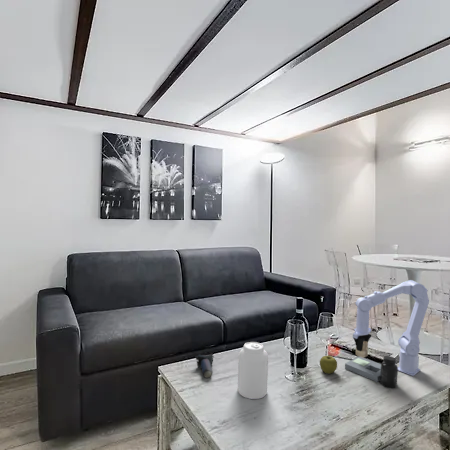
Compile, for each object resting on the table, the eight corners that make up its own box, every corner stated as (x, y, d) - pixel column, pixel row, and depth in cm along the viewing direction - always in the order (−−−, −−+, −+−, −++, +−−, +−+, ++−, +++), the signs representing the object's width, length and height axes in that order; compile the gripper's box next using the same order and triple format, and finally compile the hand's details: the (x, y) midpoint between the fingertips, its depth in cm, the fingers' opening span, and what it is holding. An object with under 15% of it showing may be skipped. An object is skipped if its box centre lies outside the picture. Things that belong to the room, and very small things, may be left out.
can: (269, 386, 140) (271, 341, 139) (263, 402, 128) (265, 353, 127) (242, 381, 144) (243, 337, 143) (233, 396, 132) (235, 348, 131)
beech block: (359, 352, 163) (360, 339, 162) (367, 355, 160) (367, 341, 159) (355, 355, 160) (356, 341, 160) (363, 357, 157) (363, 343, 157)
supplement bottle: (399, 389, 140) (400, 362, 140) (382, 387, 141) (383, 360, 141) (394, 381, 147) (395, 355, 146) (378, 379, 148) (379, 354, 148)
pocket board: (359, 360, 167) (359, 355, 167) (390, 372, 155) (391, 367, 155) (344, 368, 158) (345, 363, 158) (377, 382, 146) (377, 376, 146)
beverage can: (197, 369, 157) (201, 383, 145) (194, 354, 156) (198, 367, 144) (215, 364, 159) (220, 377, 147) (212, 350, 158) (218, 362, 146)
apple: (339, 376, 150) (339, 361, 150) (321, 375, 150) (322, 360, 150) (333, 368, 158) (334, 354, 158) (317, 368, 158) (318, 353, 158)
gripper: (362, 317, 167) (361, 343, 168) (347, 322, 158) (346, 350, 158) (375, 321, 162) (374, 347, 162) (361, 327, 152) (360, 355, 153)
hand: (361, 349), depth 160 cm, fingers closed on beech block, 4 cm apart
